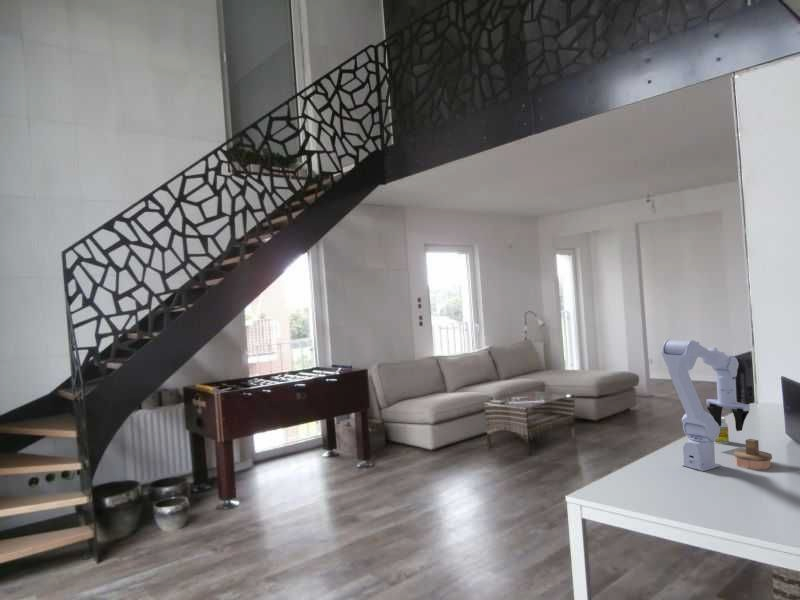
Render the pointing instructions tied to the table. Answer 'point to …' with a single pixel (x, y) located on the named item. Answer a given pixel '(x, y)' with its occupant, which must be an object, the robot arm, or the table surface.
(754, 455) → the lid
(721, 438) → the supplement bottle
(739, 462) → the bowl
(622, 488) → the table surface
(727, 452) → the mat
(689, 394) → the robot arm
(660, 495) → the table surface
